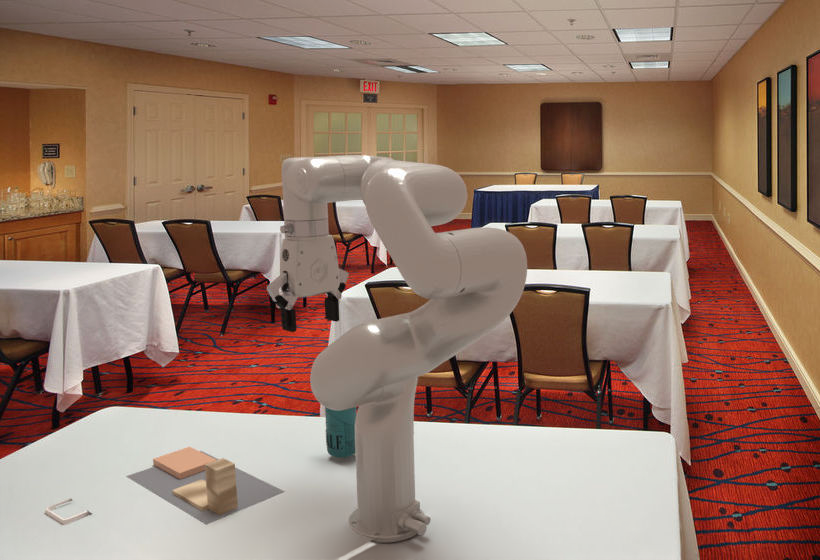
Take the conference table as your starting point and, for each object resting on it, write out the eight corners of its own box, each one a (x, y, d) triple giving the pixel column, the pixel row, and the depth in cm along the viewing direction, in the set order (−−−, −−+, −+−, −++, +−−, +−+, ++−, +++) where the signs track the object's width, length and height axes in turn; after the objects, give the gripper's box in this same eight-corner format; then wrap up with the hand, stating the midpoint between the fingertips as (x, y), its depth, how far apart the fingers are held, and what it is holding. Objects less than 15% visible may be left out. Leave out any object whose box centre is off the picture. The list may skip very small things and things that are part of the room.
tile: (216, 459, 152) (189, 446, 159) (179, 473, 147) (152, 458, 154) (217, 466, 153) (190, 452, 160) (180, 479, 147) (153, 465, 154)
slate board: (285, 496, 141) (284, 491, 141) (206, 529, 130) (206, 524, 130) (201, 455, 161) (200, 450, 160) (126, 481, 149) (126, 476, 149)
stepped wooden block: (243, 505, 136) (240, 461, 135) (213, 517, 132) (210, 472, 131) (202, 482, 146) (198, 441, 144) (172, 493, 141) (168, 451, 140)
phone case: (64, 528, 133) (145, 495, 144) (63, 520, 133) (144, 488, 144) (44, 515, 138) (123, 485, 149) (43, 508, 138) (123, 478, 149)
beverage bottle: (361, 452, 160) (358, 356, 157) (356, 465, 154) (352, 366, 150) (330, 451, 161) (325, 356, 157) (323, 465, 154) (318, 366, 151)
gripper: (279, 236, 128) (284, 338, 131) (358, 225, 140) (361, 319, 143) (252, 233, 133) (258, 331, 136) (330, 223, 145) (334, 313, 149)
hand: (311, 325), depth 140 cm, fingers open, 9 cm apart
